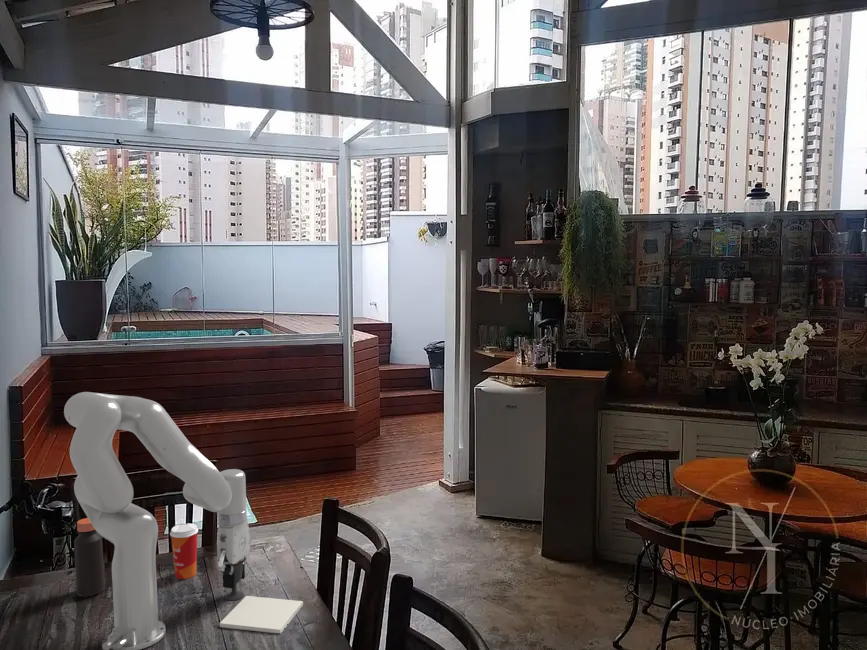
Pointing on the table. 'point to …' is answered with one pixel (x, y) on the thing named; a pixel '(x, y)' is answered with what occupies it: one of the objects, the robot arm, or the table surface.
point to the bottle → (88, 559)
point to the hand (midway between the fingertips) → (234, 582)
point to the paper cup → (184, 550)
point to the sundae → (236, 580)
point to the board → (262, 614)
